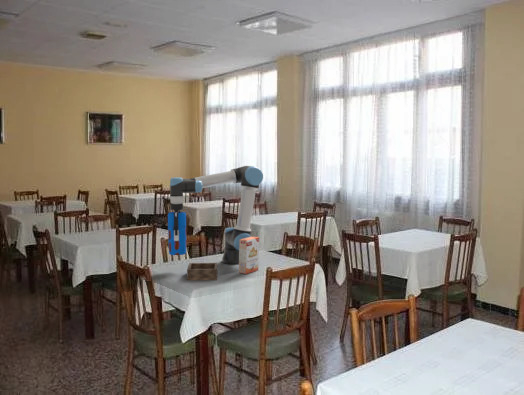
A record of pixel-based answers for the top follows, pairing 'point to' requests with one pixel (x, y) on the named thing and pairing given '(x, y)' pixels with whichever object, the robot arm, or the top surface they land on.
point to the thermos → (180, 245)
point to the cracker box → (248, 255)
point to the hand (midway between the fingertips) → (177, 238)
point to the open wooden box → (202, 271)
